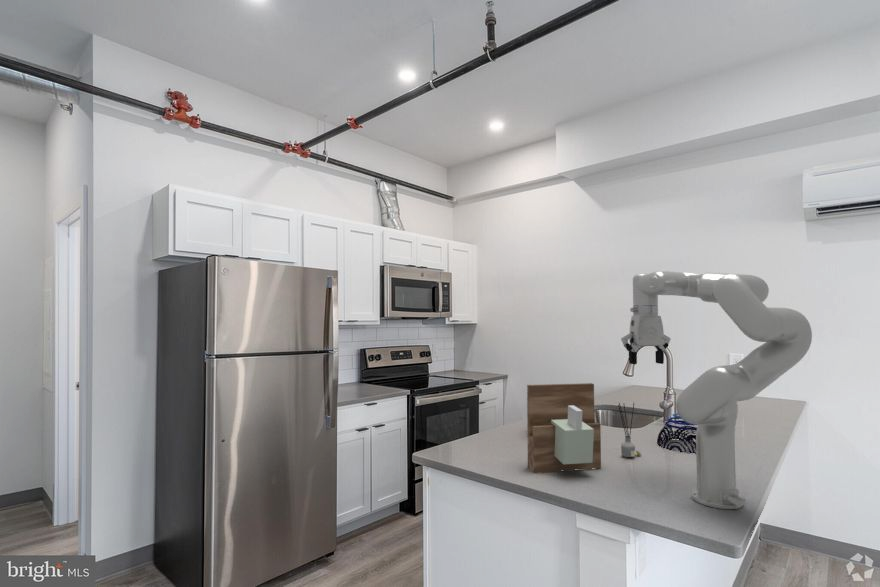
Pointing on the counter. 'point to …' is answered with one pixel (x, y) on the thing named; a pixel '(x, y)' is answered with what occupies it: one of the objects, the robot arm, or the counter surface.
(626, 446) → the reed diffuser
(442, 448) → the counter surface
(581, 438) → the pale green pegged cube
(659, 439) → the decorative bowl
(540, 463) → the wooden board stand
